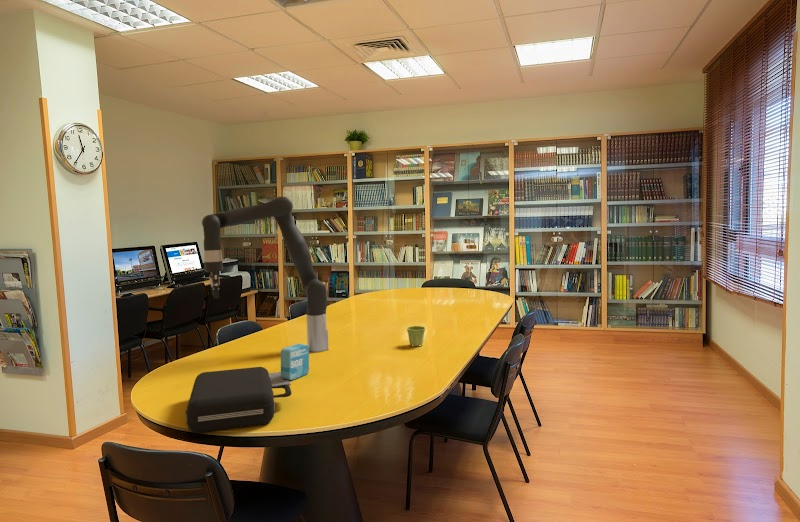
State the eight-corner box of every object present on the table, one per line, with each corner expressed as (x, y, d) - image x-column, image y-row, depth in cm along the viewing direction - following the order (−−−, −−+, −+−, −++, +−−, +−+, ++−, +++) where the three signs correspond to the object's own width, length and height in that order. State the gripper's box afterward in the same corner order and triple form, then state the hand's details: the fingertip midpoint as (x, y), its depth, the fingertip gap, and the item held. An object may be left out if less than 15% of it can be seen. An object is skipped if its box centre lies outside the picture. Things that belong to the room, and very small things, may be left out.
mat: (282, 372, 216) (281, 371, 216) (290, 384, 200) (290, 383, 200) (246, 377, 211) (246, 376, 211) (252, 390, 194) (252, 389, 194)
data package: (289, 381, 203) (289, 350, 202) (280, 379, 205) (280, 348, 204) (309, 373, 213) (309, 344, 213) (300, 372, 216) (300, 343, 215)
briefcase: (296, 423, 162) (295, 391, 161) (185, 438, 153) (183, 404, 152) (286, 388, 196) (285, 361, 196) (195, 398, 187) (194, 370, 187)
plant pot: (428, 344, 259) (428, 326, 258) (421, 348, 251) (421, 330, 250) (411, 342, 263) (411, 325, 262) (403, 347, 255) (403, 329, 254)
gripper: (224, 261, 227) (226, 298, 228) (220, 258, 240) (223, 294, 241) (205, 262, 224) (207, 300, 225) (203, 259, 237) (205, 295, 238)
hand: (215, 297), depth 233 cm, fingers open, 8 cm apart
